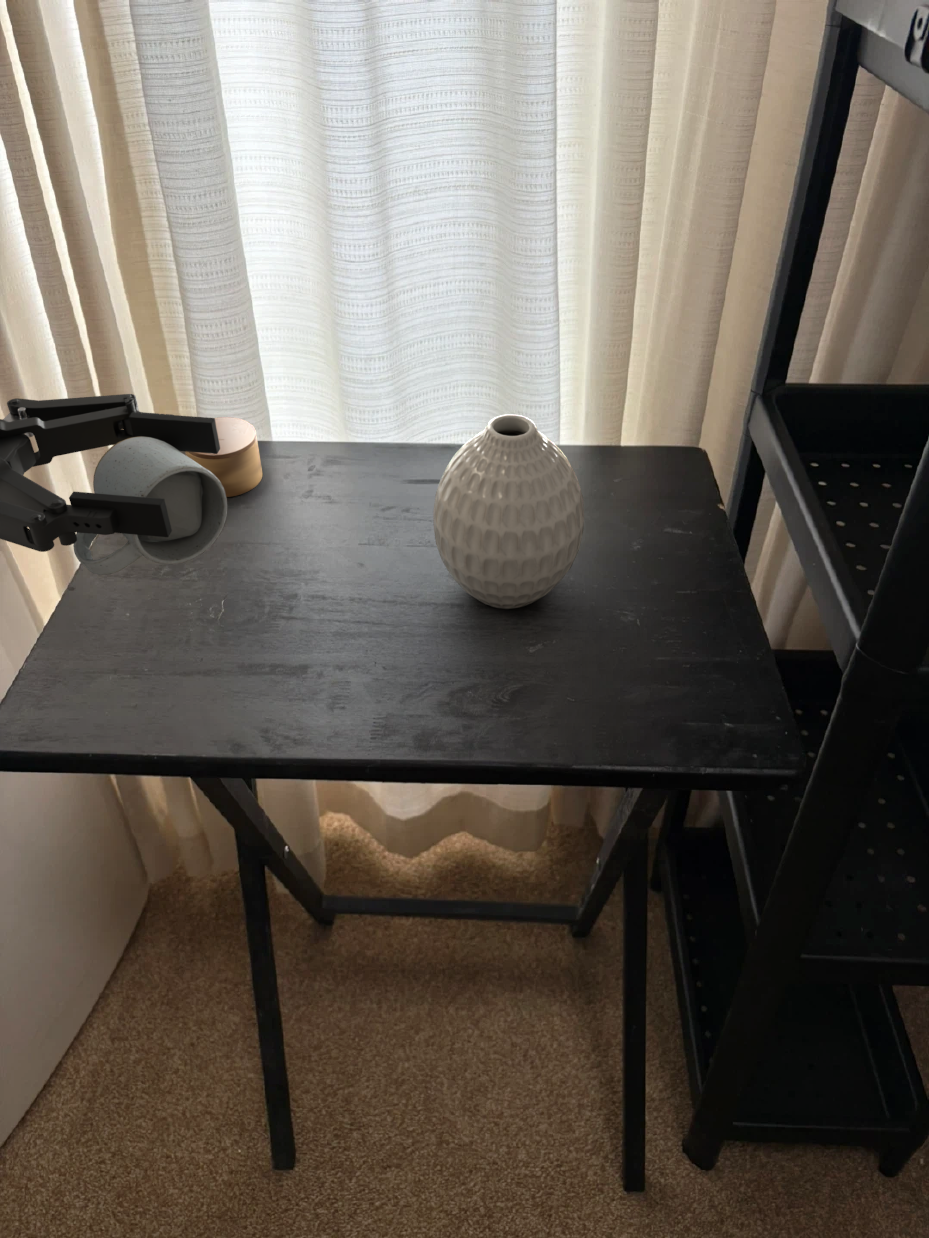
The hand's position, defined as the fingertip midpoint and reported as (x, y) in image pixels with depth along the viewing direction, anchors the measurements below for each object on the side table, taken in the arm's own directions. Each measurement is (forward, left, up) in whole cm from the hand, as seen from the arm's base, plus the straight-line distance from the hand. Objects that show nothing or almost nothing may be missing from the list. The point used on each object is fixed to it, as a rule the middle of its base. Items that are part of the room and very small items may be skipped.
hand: (192, 475), depth 75 cm
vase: (+25, +3, -18) cm, 31 cm away
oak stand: (+2, +27, -18) cm, 32 cm away
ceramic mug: (-4, +1, -6) cm, 7 cm away
